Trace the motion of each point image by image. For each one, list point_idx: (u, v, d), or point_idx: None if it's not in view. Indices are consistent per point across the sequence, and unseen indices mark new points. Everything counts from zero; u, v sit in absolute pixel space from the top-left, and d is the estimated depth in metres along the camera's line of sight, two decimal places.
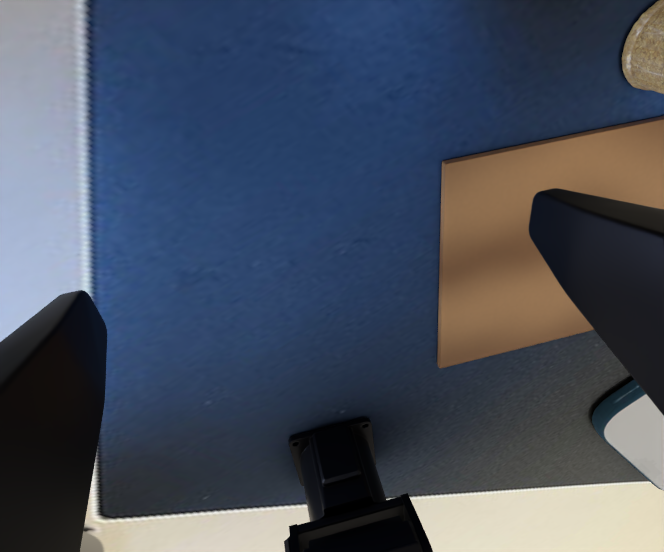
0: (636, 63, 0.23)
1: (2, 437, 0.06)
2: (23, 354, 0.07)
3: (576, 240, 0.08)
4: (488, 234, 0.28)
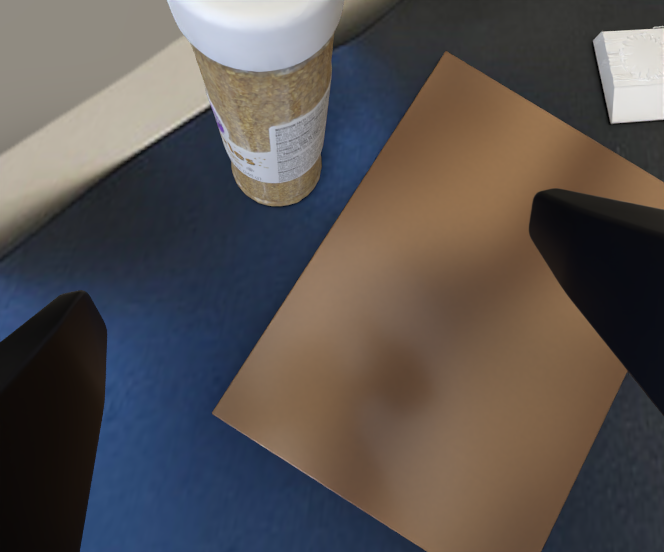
0: (261, 196, 0.22)
1: (2, 437, 0.06)
2: (23, 354, 0.07)
3: (576, 240, 0.08)
4: (340, 417, 0.21)
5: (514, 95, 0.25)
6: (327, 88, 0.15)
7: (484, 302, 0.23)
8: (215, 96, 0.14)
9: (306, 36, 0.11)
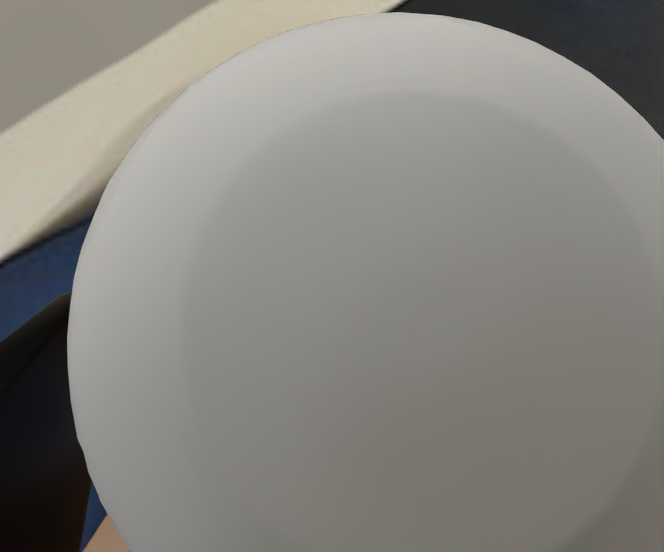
0: None
1: (2, 437, 0.06)
2: (23, 354, 0.06)
3: None
4: None
5: None
6: None
7: None
8: None
9: None
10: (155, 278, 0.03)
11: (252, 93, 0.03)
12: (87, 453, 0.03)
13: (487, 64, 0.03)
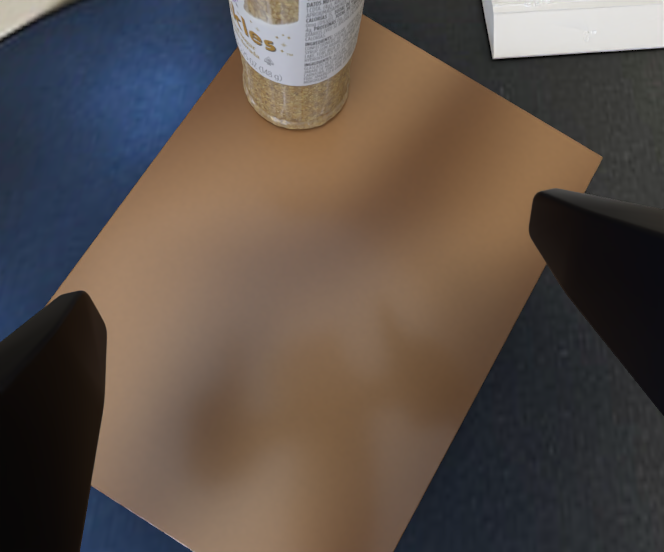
0: (279, 113, 0.18)
1: (2, 437, 0.06)
2: (23, 354, 0.06)
3: (576, 240, 0.08)
4: (133, 412, 0.17)
5: (374, 24, 0.20)
6: None
7: (324, 270, 0.19)
8: None
9: None
10: None
11: None
12: None
13: None
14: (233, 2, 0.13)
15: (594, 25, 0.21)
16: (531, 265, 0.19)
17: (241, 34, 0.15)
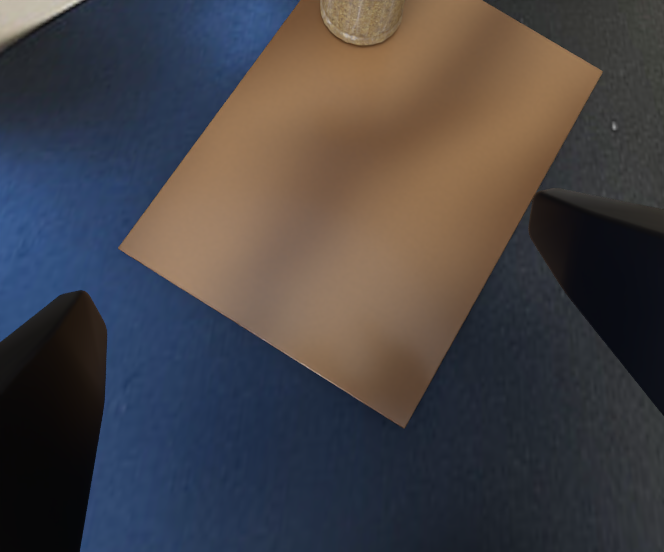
0: (351, 29, 0.23)
1: (2, 437, 0.06)
2: (23, 354, 0.07)
3: (576, 240, 0.08)
4: (241, 254, 0.22)
5: None
6: None
7: (384, 152, 0.24)
8: None
9: None
10: None
11: None
12: None
13: None
14: None
15: None
16: (546, 152, 0.24)
17: None
